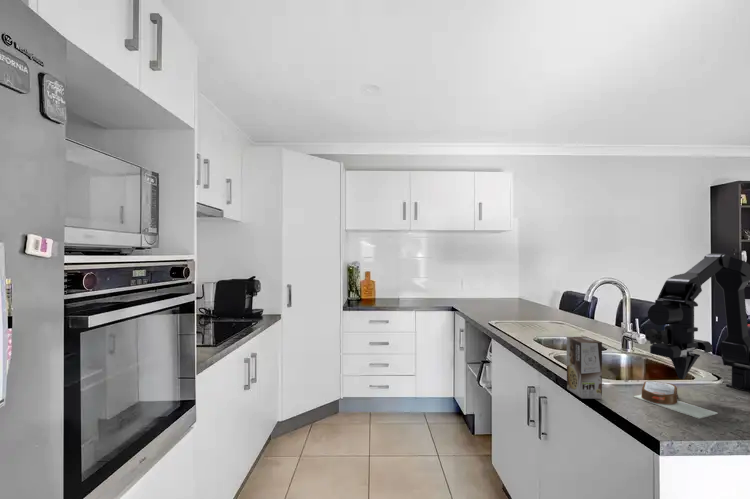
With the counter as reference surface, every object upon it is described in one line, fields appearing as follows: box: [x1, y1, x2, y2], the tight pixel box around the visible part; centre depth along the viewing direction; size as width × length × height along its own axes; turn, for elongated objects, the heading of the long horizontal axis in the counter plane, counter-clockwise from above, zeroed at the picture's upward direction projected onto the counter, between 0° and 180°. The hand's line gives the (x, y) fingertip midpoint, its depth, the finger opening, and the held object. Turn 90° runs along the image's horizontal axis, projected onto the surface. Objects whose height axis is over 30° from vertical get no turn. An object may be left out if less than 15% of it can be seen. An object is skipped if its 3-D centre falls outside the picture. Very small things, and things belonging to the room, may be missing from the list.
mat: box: [633, 394, 719, 420], centre depth 115 cm, size 8×17×1 cm, turn 24°
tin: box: [640, 380, 679, 404], centre depth 121 cm, size 15×3×8 cm
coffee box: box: [565, 336, 603, 400], centre depth 124 cm, size 9×6×16 cm
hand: (681, 378), depth 117 cm, fingers closed
